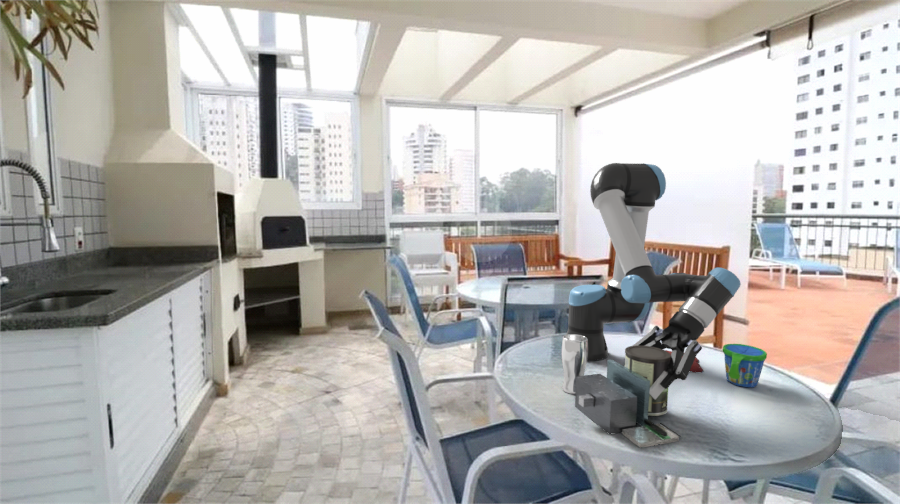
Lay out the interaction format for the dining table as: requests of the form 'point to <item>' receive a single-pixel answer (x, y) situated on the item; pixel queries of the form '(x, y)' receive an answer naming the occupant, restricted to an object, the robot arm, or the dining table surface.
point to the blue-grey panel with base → (633, 385)
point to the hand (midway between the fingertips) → (635, 386)
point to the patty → (693, 365)
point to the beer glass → (573, 360)
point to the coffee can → (650, 371)
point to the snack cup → (743, 364)
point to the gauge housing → (617, 411)
